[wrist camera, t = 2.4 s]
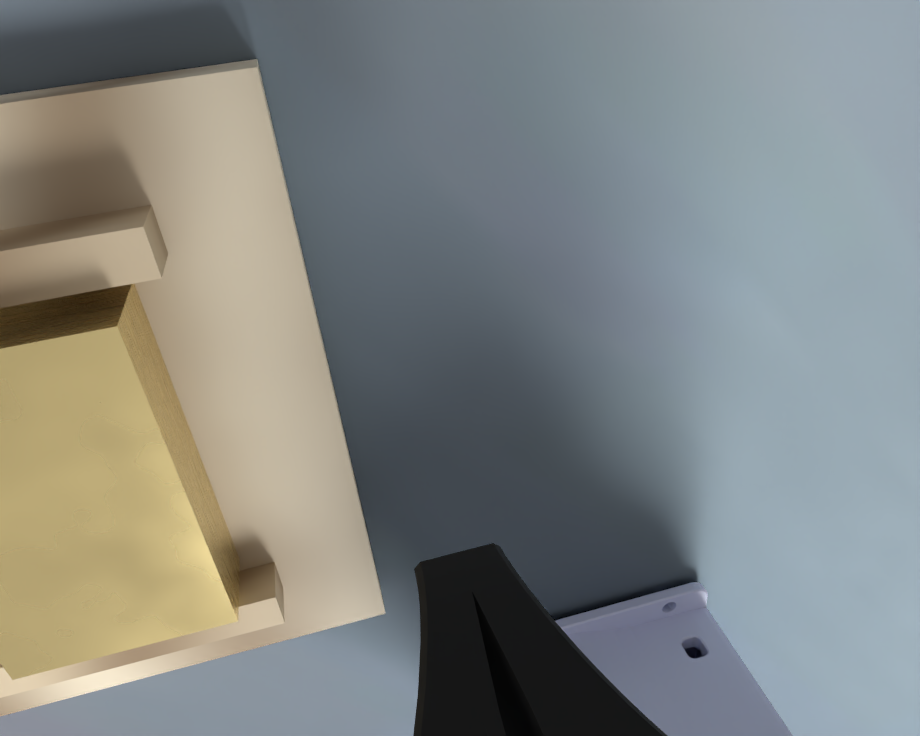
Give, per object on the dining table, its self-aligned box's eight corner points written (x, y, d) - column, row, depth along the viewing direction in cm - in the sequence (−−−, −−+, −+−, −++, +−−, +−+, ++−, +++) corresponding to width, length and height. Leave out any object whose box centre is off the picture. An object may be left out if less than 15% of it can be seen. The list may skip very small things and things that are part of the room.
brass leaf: (133, 279, 14) (112, 337, 12) (239, 559, 18) (237, 635, 16) (-290, 356, 13) (-389, 434, 11) (-70, 635, 17) (-112, 727, 15)
